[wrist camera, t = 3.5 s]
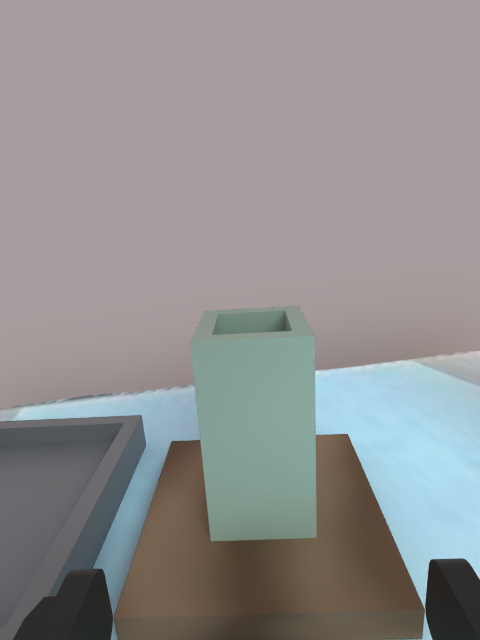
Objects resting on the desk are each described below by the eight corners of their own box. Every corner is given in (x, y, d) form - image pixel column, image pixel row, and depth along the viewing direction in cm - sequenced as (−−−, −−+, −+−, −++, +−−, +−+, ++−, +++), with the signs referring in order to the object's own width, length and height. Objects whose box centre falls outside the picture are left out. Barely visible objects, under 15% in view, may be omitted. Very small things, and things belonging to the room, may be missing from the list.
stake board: (347, 453, 27) (349, 304, 24) (422, 638, 15) (443, 394, 12) (174, 460, 27) (155, 315, 24) (119, 645, 16) (72, 411, 13)
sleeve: (302, 469, 23) (299, 305, 20) (316, 537, 18) (314, 335, 16) (218, 472, 23) (204, 311, 21) (210, 541, 18) (190, 342, 16)
